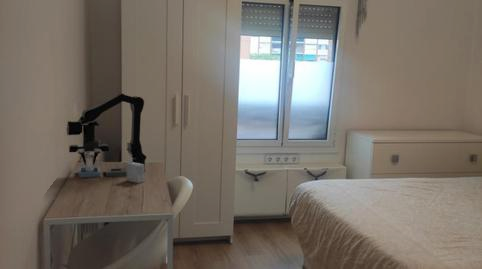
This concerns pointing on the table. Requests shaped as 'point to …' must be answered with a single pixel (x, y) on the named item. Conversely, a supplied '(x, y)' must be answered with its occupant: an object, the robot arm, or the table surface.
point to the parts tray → (93, 173)
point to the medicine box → (135, 172)
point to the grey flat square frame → (116, 171)
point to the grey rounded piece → (89, 163)
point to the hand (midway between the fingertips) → (89, 165)
